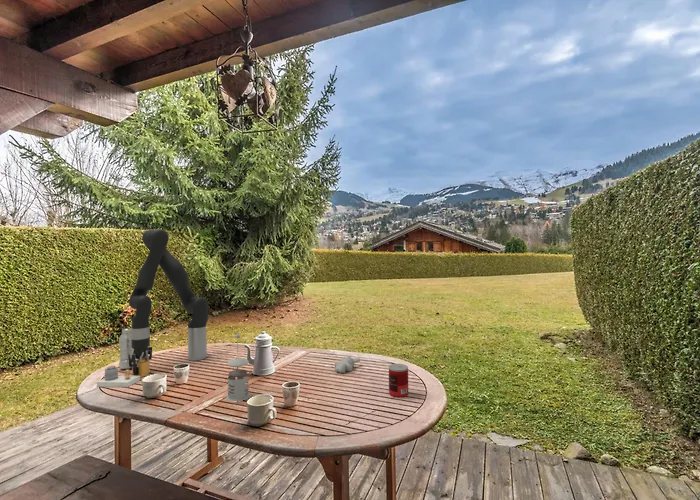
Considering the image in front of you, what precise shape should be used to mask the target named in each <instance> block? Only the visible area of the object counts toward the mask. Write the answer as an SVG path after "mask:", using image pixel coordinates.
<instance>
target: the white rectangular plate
mask: <svg viewBox="0 0 700 500" xmlns="http://www.w3.org/2000/svg"><path fill="white" fill-rule="evenodd" d="M140 381H141V377H140V376H132V375H130V379H128V380H125V375H118V378H117V379H115V380H111V381H105V377H104V378H102V379H100V380H98V381H97V382H96V387H97V388H98V387H101V388H104V387H105V388H129V387H130V385H131V386H133V385H134V384H136V383H139V382H140ZM132 384H133V385H132ZM128 386H129V387H128Z"/></svg>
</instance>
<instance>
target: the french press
mask: <svg viewBox="0 0 700 500" xmlns="http://www.w3.org/2000/svg"><path fill="white" fill-rule="evenodd" d="M234 338H236V341H237V346H236V347H237V351H236V352H239V338H241V334H239V333H236V334H235V336H234ZM248 364H249V360H248V359H246V358H242V357H237V358H233V359H230V360H228V362H227V365H228V366H229V367H232V371H229V372H228V376H227V395H226V396H225V398H226V400H227V401H226V400H225V401H226V402H228V401H242V402H244V401H243V400H245V401H247V400H249V399H251V398H252V395H251V393H249V374H248V371H247V370H246V369H239V367H243V366H246V365H248ZM234 368H236V369H234ZM236 378H237V379H236ZM248 398H249V399H248ZM246 399H247V400H246Z"/></svg>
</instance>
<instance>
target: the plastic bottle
mask: <svg viewBox="0 0 700 500" xmlns="http://www.w3.org/2000/svg"><path fill="white" fill-rule="evenodd" d="M131 332H132V327H124V328H122V330H121V335H120V337H119V338H118V344H119V351H120V352H119V353H120V356H119V362H118V364H119V365H118V366H119V367H118V368H119V369H120V370H127V369H132V367H129V358H128V355H129V354H133V352H134V349H133V348H132V347H131ZM132 364H133V362H132Z"/></svg>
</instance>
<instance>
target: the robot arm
mask: <svg viewBox="0 0 700 500" xmlns="http://www.w3.org/2000/svg"><path fill="white" fill-rule="evenodd" d="M141 238H142V242H143V245H144V246H145V247H146V248H147V250H149V251H148V255H147V257H146V259H145V261H144V262H143V264H142V266H141V268H140V269H139V272H138V275H137V276H138V277H137V279H136V285H135V286H134V288H133V289H132V292H131V294H130V296H129V300H128V304H129V307H130V308H131V309H133V310H135V315H134V316H132V318H131V332H130V333H131V347H132V348H133V354H129V355H128V358H129V367H133V375H139V367H138V366H139V363H140V362H141V360H142V359H145V360H149V361H150V360H152V359H153V347H152V346H151V332H150V331H151V330H150V316H151V311H152V308H153V304H152V303H153V302H152V299H151V297H150V296H148V295H147V294H148V292H149V291H151V290H152V289H153V287H154V284H155V283H154V282H155V279H156V275H157V271H158V267H160V268H161V270H162V271H163V273H164V275H165V276H166V278H167V280H168V281H169V283H170V284H171V286H172V287H173V288H174V291H175V292H176V294H177V295H178V297H179V298H180V301H181V303H182V304H183V308H184V310H185V311H186V312H187V313H188V314H191V315H192V316H191V320H190V321H188V323H187V359H188V361H193V362H195V361H201V360H204V359H206V358H207V357H208V352H207V351H208V350H207V349H208V342H207V322H208V319H209V302H208V300H207V299H206V298H204V297H200V296H199V297H198V296H196V294H195V293H194V292H193V290H192V288H191V286H190V278H189V275H188V273H187V270H186V269H185V267H184V266H183V264H182V263H181V262H180V261H179V260H178V259H177V258H176V257H175V256H174V255H173V254H171V252H170V251H169V250H168V249H167V246H168V243H169V240H170V237H169V234H168V232H167V231H166V230H165V229H161V228H153V229H152V228H151V229H148V230H146V231H144V232H143V234H142V237H141ZM132 362H133V364H132ZM136 362H137V364H136Z"/></svg>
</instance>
